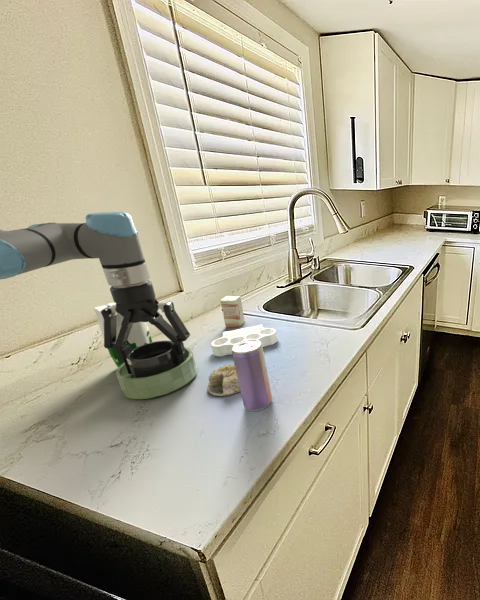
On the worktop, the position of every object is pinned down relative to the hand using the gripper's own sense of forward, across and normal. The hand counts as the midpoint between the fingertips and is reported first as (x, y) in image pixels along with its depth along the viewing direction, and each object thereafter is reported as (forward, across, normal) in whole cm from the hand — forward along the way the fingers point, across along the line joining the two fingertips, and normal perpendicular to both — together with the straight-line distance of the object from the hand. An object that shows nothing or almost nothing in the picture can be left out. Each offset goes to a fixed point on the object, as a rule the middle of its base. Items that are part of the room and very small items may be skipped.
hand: (157, 368), depth 81 cm
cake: (+4, +17, -5) cm, 19 cm away
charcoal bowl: (0, 0, 0) cm, 0 cm away
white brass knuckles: (+4, +17, +16) cm, 24 cm away
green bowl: (+4, 0, 0) cm, 4 cm away
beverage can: (+4, +26, -15) cm, 30 cm away
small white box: (+4, +10, +33) cm, 34 cm away
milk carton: (+4, -10, +10) cm, 15 cm away
